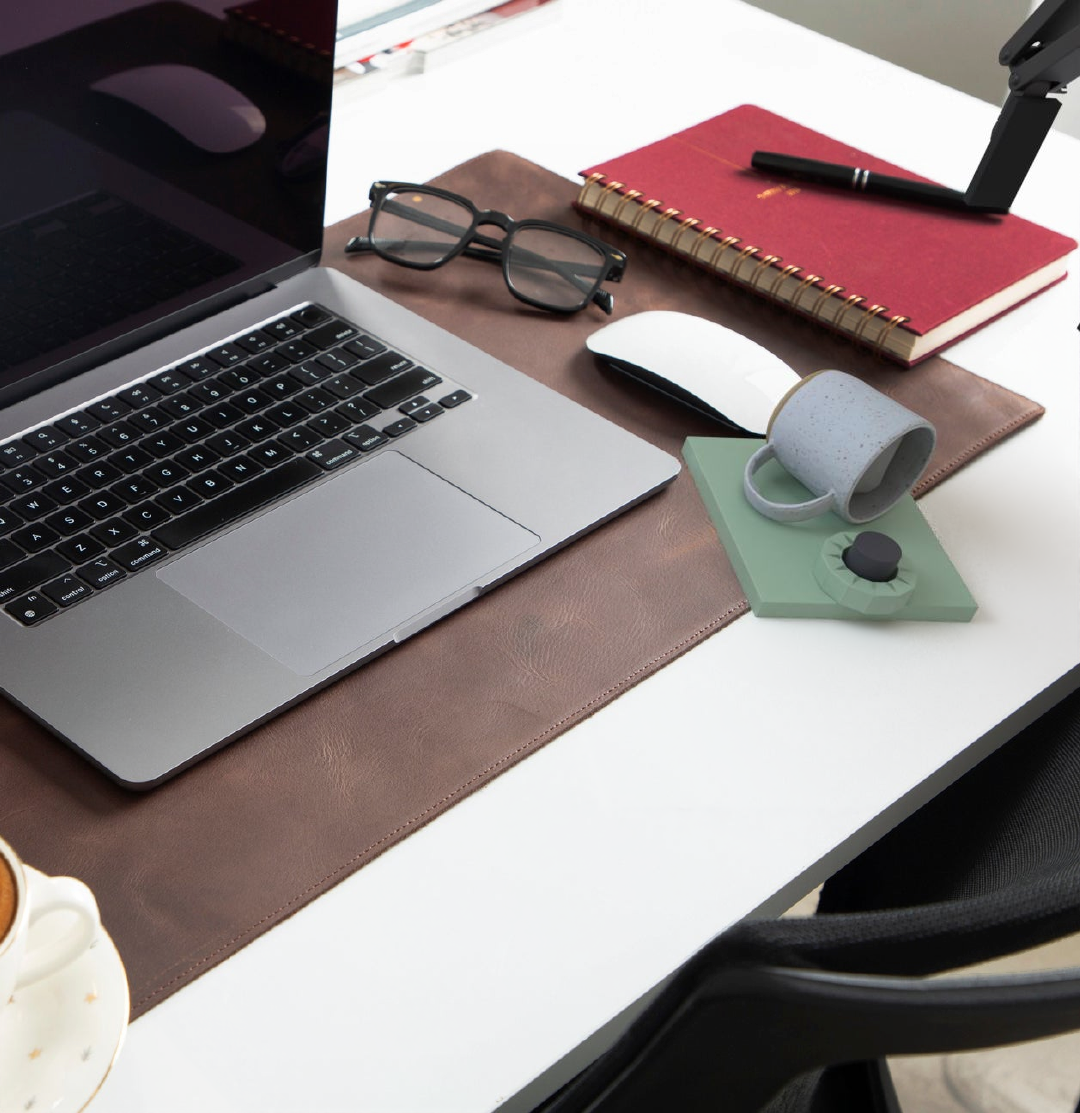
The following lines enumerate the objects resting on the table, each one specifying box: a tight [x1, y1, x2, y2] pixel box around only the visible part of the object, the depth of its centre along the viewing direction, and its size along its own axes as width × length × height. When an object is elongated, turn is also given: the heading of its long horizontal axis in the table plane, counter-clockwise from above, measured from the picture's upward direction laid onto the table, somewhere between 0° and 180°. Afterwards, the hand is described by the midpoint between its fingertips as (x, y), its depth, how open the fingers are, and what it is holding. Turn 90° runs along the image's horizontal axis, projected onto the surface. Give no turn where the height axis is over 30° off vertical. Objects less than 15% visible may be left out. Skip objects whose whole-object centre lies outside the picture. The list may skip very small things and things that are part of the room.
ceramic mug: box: [744, 369, 938, 524], centre depth 94 cm, size 11×8×8 cm
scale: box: [681, 436, 979, 623], centre depth 94 cm, size 17×14×3 cm
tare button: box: [845, 531, 902, 582], centre depth 89 cm, size 3×3×2 cm
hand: (1040, 265), depth 81 cm, fingers open, 13 cm apart
